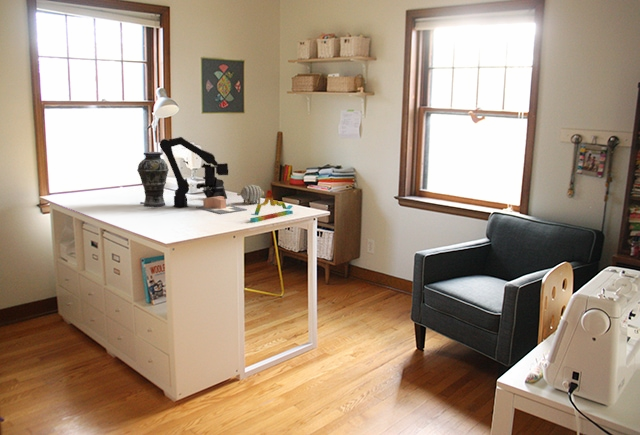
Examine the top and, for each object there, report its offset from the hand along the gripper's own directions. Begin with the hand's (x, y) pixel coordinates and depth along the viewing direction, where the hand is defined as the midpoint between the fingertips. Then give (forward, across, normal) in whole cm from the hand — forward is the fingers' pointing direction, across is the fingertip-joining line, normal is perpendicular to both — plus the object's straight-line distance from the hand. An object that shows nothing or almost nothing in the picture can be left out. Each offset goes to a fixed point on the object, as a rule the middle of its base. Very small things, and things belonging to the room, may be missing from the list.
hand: (210, 202), depth 343 cm
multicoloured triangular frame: (+2, -46, -6) cm, 46 cm away
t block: (+2, -7, 0) cm, 7 cm away
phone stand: (+2, +16, -18) cm, 25 cm away
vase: (+2, +22, +23) cm, 32 cm away
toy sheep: (+2, -8, -24) cm, 25 cm away
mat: (+2, -11, 0) cm, 11 cm away
